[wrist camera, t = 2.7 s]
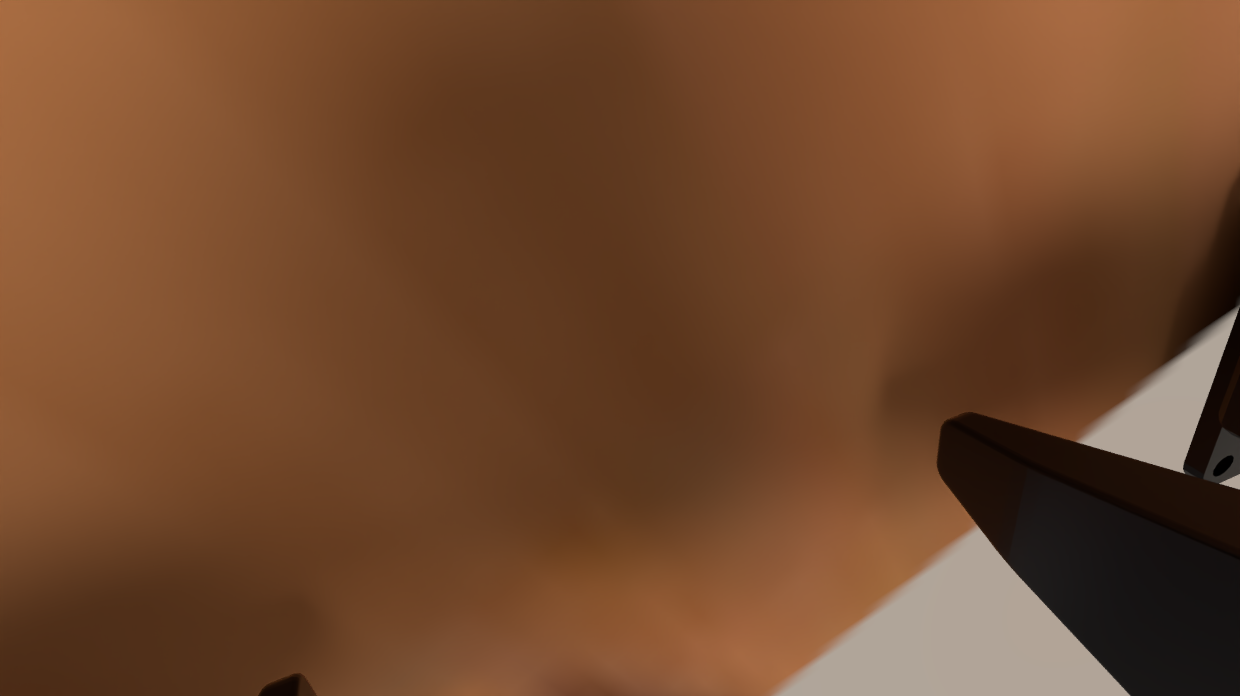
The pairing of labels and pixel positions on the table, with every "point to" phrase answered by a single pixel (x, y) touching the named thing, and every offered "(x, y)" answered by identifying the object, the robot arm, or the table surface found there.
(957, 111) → the table surface
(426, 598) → the table surface
